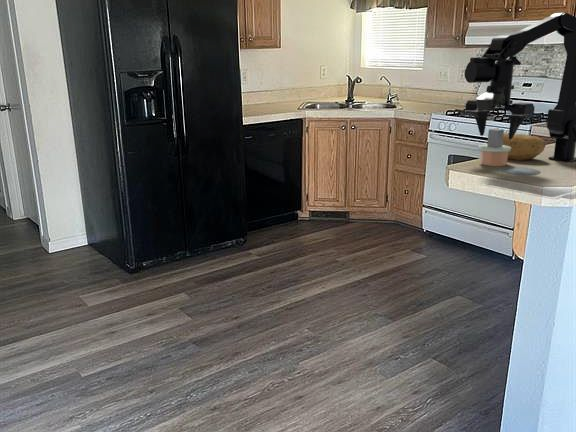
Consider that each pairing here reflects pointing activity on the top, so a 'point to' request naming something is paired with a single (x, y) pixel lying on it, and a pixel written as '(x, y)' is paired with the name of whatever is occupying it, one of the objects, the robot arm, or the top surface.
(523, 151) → the potato
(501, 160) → the cup
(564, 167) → the top surface
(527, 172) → the mat
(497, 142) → the lid
